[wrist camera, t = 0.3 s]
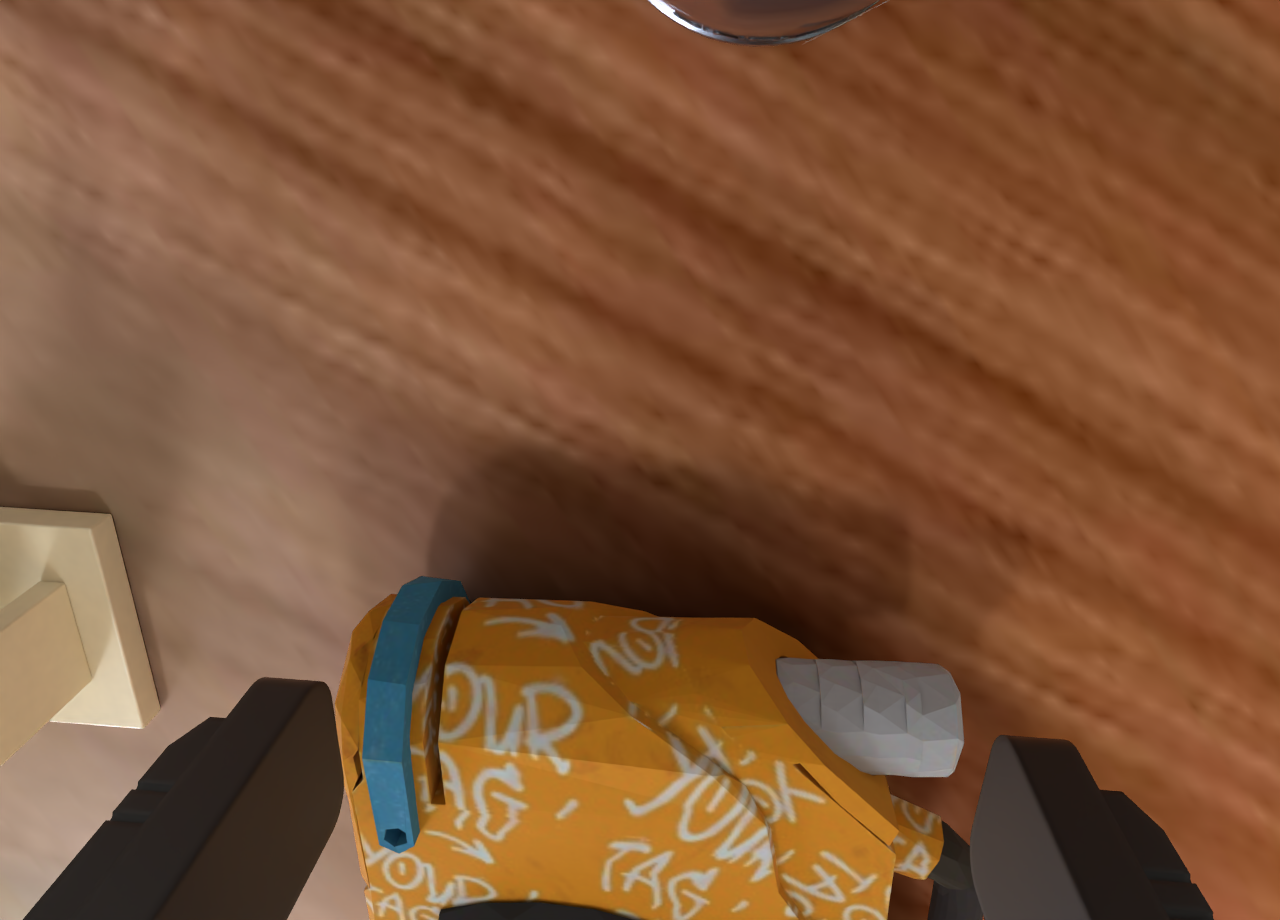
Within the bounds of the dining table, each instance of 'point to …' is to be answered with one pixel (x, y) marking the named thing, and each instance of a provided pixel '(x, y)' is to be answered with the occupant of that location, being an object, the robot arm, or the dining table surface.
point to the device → (635, 766)
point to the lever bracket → (67, 627)
